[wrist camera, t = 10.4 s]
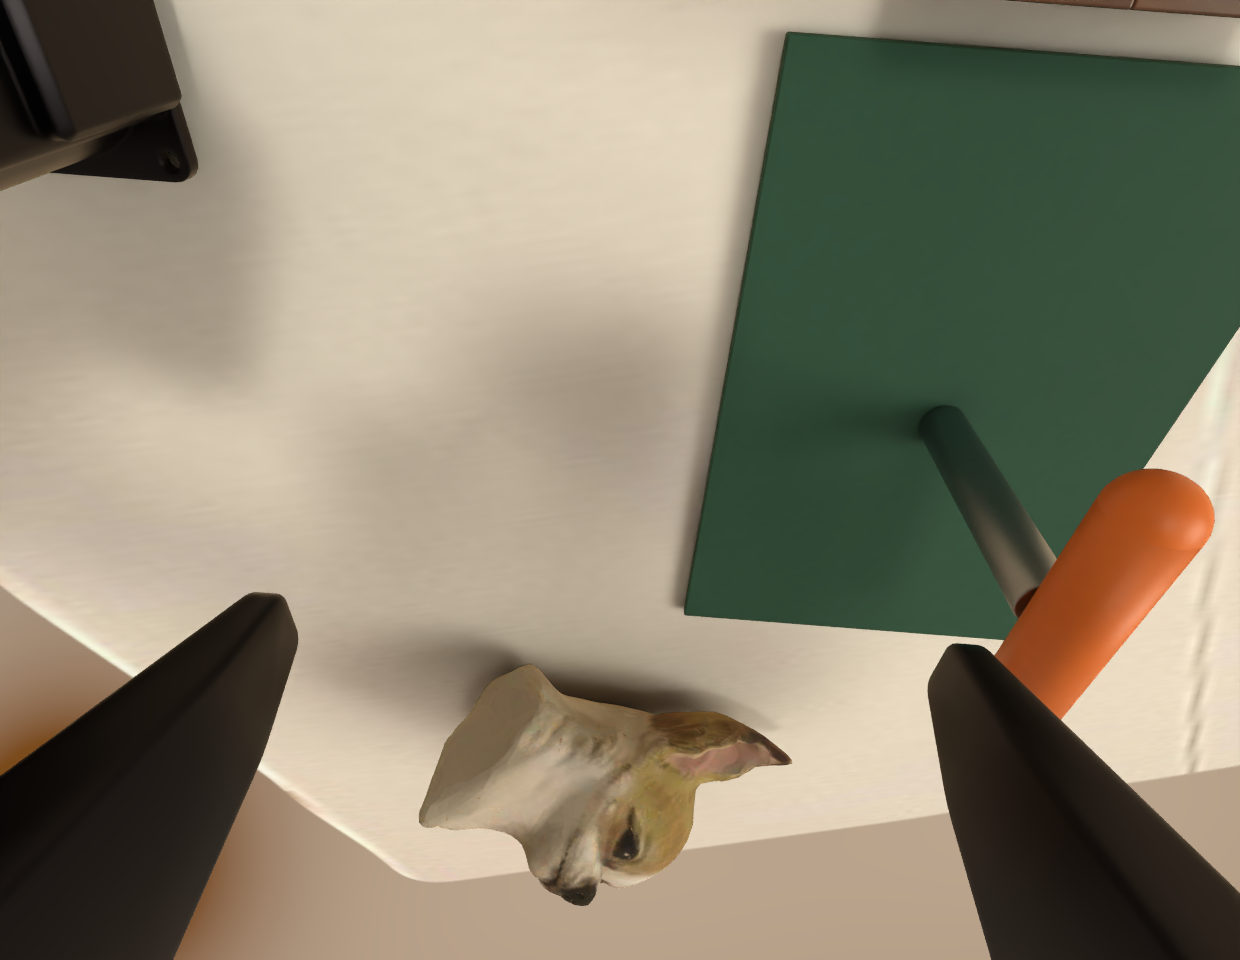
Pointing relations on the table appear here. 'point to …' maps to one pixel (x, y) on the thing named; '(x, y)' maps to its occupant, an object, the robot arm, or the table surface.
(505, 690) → the ceramic sculpture
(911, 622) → the cutting mat
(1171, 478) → the t handle
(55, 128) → the robot arm
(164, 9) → the table surface
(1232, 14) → the rack
